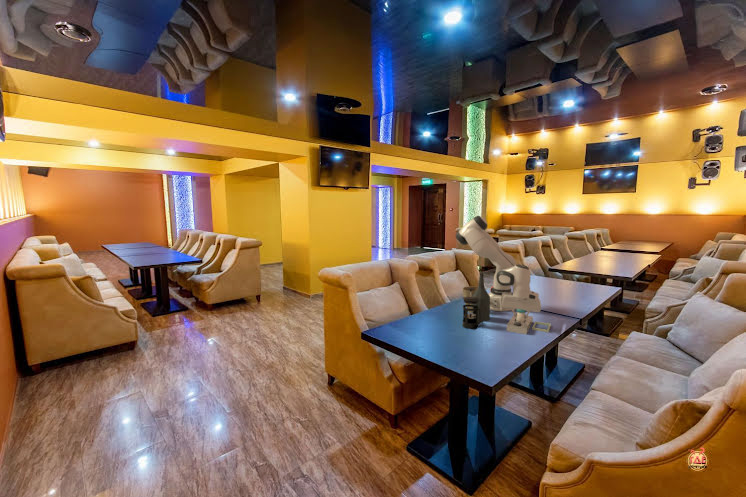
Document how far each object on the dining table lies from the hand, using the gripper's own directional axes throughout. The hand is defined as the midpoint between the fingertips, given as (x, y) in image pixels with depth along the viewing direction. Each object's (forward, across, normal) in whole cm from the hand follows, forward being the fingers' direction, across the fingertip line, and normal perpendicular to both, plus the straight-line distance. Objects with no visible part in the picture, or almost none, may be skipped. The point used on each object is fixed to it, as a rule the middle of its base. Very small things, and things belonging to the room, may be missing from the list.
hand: (520, 317), depth 184 cm
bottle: (+7, -23, +4) cm, 24 cm away
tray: (+7, +10, +4) cm, 13 cm away
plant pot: (+7, -32, +19) cm, 38 cm away
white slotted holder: (+7, 0, 0) cm, 7 cm away
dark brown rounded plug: (+5, 0, -8) cm, 9 cm away
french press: (+7, -25, -9) cm, 28 cm away
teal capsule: (+5, 0, 0) cm, 5 cm away
